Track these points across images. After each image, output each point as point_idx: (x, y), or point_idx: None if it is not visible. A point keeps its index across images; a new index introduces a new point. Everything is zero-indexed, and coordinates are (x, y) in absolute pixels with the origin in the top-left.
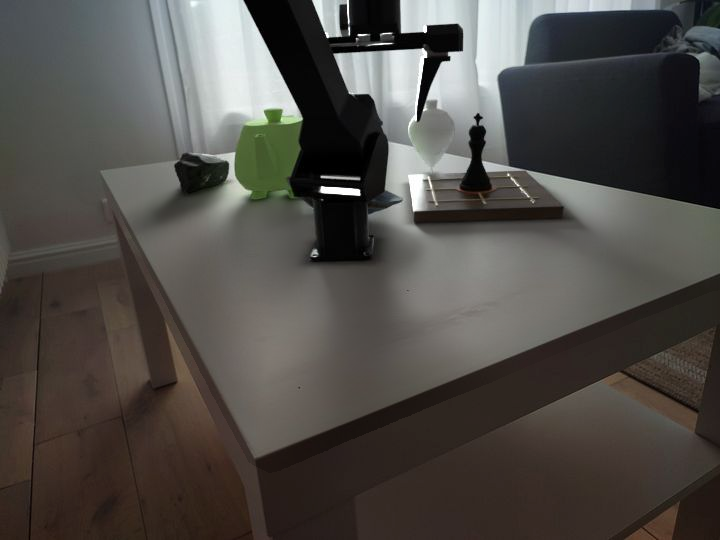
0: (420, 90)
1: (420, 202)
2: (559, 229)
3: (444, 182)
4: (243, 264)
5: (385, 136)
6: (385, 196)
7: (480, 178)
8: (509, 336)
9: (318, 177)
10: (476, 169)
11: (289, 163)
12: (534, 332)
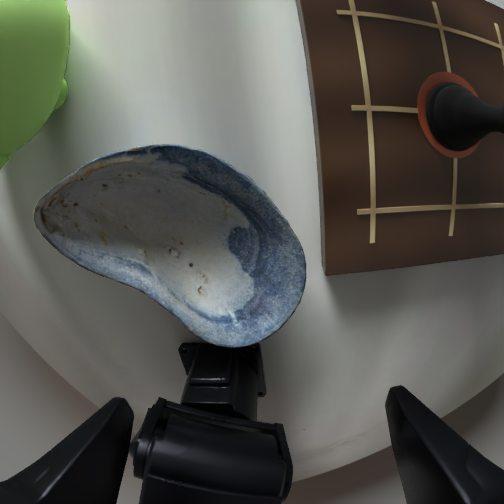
0: (410, 500)
1: (341, 217)
2: (492, 287)
3: (391, 44)
4: (131, 388)
5: (288, 491)
6: (262, 216)
7: (473, 144)
8: (358, 453)
9: (162, 412)
10: (478, 136)
11: (4, 142)
12: (373, 449)
